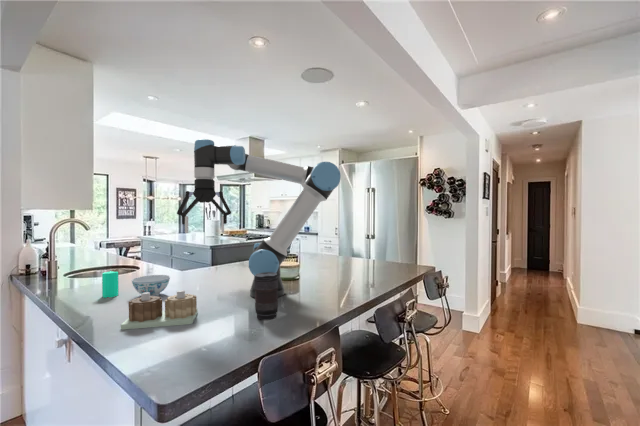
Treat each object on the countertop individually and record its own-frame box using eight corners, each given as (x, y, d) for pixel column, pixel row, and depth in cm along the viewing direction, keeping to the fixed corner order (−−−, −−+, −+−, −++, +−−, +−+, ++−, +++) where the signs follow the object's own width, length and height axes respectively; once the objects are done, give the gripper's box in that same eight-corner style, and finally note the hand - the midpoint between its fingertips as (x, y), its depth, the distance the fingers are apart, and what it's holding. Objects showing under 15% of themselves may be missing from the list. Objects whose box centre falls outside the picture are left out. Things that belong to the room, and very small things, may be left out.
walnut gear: (159, 310, 113) (159, 294, 113) (164, 318, 105) (164, 300, 105) (128, 316, 107) (127, 298, 107) (130, 324, 100) (130, 305, 99)
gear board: (197, 312, 116) (197, 286, 116) (191, 324, 104) (191, 294, 104) (134, 317, 111) (133, 290, 111) (120, 329, 99) (120, 299, 99)
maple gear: (198, 309, 115) (198, 292, 115) (193, 317, 105) (193, 299, 105) (169, 311, 113) (169, 294, 113) (162, 320, 103) (162, 301, 103)
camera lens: (252, 315, 113) (252, 273, 113) (274, 312, 116) (274, 271, 116) (257, 322, 105) (257, 277, 105) (280, 318, 108) (280, 275, 108)
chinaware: (147, 290, 149) (147, 274, 149) (177, 291, 147) (176, 275, 147) (123, 299, 134) (123, 281, 134) (155, 300, 132) (155, 282, 132)
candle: (112, 297, 137) (112, 270, 137) (99, 297, 137) (98, 270, 137) (121, 294, 143) (121, 267, 143) (108, 294, 143) (108, 267, 143)
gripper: (237, 180, 132) (237, 231, 132) (172, 179, 126) (173, 232, 126) (236, 178, 125) (237, 232, 125) (168, 177, 119) (168, 233, 119)
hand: (204, 232), depth 126 cm, fingers open, 13 cm apart
